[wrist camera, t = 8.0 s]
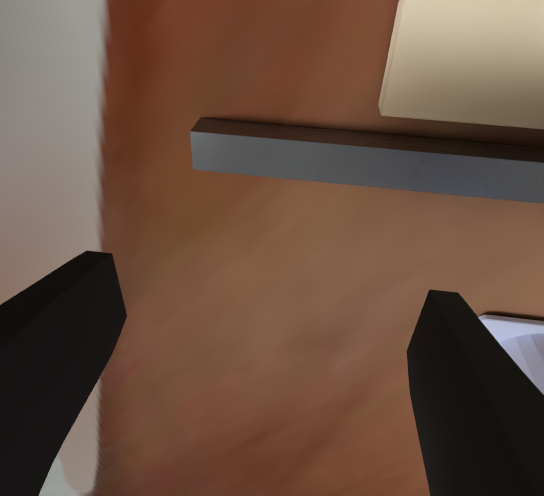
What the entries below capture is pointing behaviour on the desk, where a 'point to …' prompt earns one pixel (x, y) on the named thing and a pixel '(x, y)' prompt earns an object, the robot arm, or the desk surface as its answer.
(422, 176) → the grey tray
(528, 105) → the clamp jaw
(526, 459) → the robot arm
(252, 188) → the desk surface
